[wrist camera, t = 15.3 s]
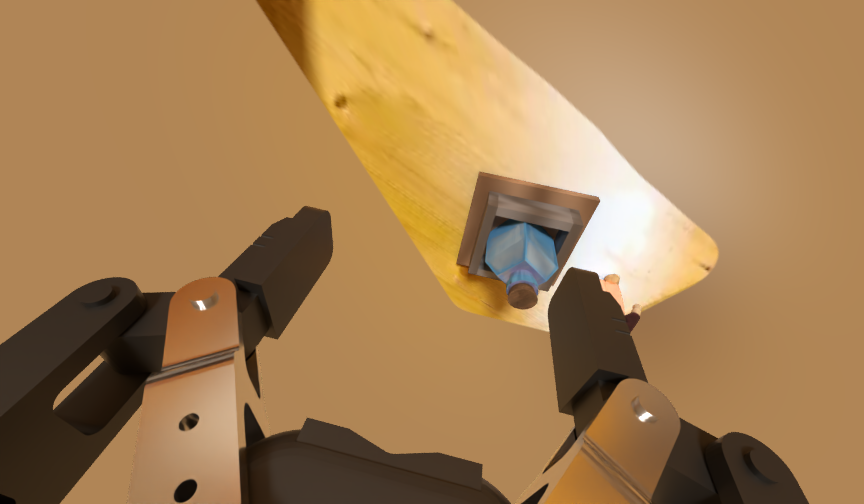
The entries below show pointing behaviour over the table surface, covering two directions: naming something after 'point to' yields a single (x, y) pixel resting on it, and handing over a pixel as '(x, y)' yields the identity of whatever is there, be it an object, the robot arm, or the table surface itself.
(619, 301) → the grandmother figurine
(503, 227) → the perfume bottle
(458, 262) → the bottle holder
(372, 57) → the table surface
